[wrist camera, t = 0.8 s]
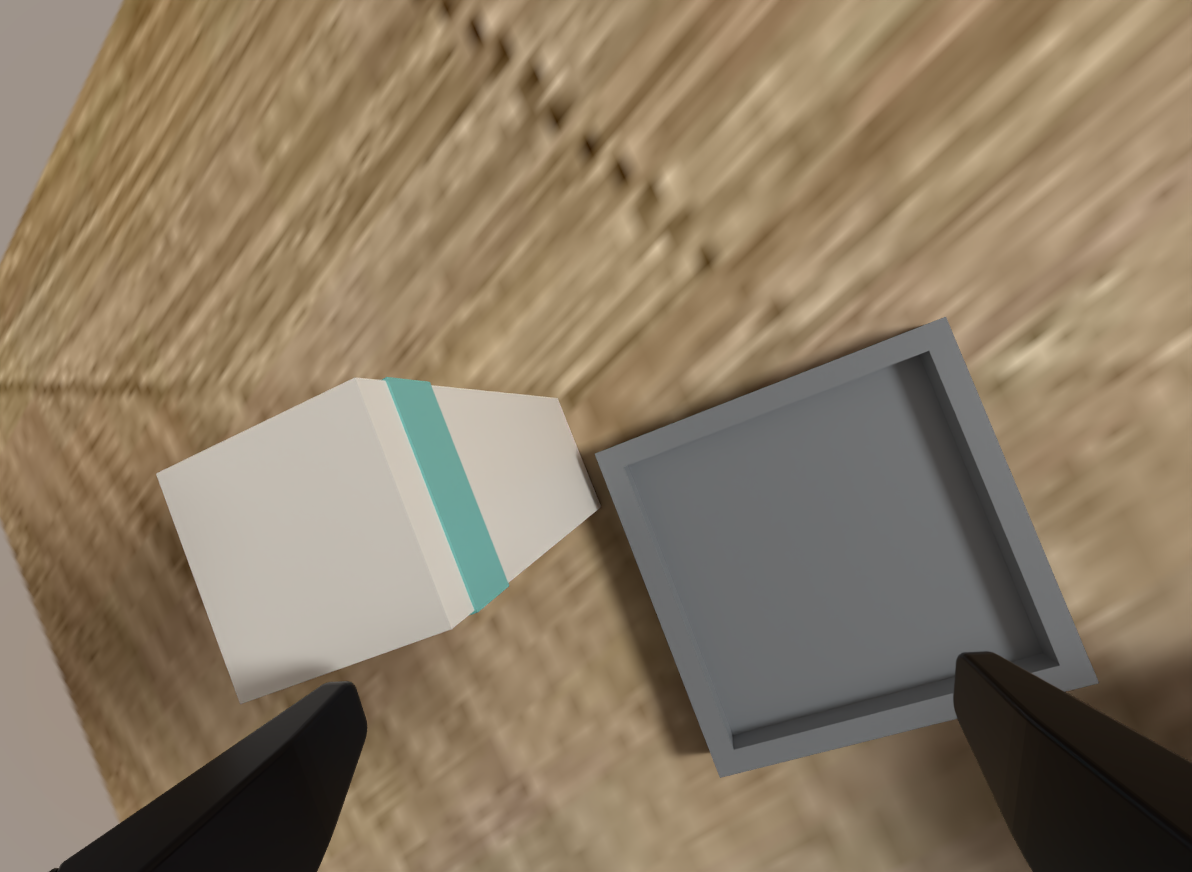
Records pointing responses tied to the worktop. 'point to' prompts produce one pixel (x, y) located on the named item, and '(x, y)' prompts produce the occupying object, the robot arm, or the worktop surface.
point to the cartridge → (370, 521)
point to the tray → (839, 553)
